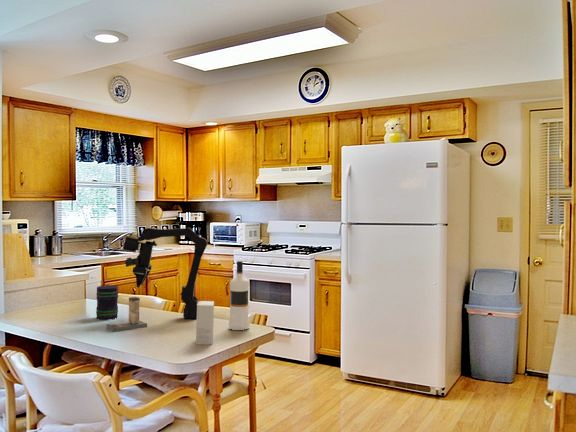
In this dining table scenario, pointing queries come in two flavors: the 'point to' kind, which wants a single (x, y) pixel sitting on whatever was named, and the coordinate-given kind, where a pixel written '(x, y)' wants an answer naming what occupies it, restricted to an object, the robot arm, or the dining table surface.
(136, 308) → the lever
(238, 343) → the dining table surface
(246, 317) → the vodka
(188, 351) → the dining table surface
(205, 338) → the skincare box
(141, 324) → the fader track
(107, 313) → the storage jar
